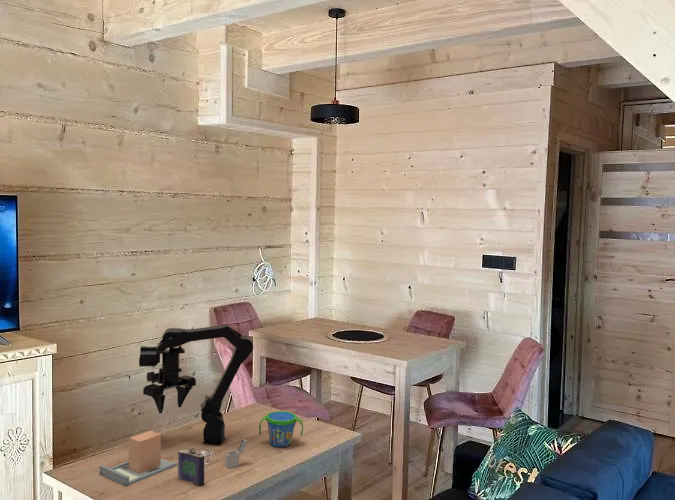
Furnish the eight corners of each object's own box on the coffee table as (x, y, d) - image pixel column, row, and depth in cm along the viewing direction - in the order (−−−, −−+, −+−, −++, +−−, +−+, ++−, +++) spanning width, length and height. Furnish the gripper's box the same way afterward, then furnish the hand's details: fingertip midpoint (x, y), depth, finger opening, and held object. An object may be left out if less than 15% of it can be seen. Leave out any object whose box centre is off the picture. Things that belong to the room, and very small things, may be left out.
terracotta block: (150, 461, 194) (150, 430, 193) (160, 465, 191) (161, 434, 190) (128, 469, 187) (129, 437, 186) (139, 473, 184) (139, 441, 184)
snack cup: (304, 439, 218) (305, 412, 217) (300, 451, 207) (301, 422, 207) (261, 437, 219) (262, 409, 218) (255, 448, 208) (256, 419, 208)
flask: (175, 480, 182) (176, 445, 181) (182, 476, 185) (183, 442, 184) (200, 487, 178) (201, 451, 177) (206, 483, 181) (207, 448, 180)
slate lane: (151, 456, 199) (151, 447, 199) (177, 466, 191) (177, 457, 191) (99, 475, 183) (99, 465, 183) (126, 487, 176) (126, 477, 176)
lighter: (227, 468, 191) (228, 444, 191) (225, 467, 192) (225, 442, 192) (247, 463, 196) (247, 439, 195) (244, 461, 197) (245, 437, 196)
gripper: (176, 357, 220) (175, 399, 221) (132, 367, 205) (132, 412, 206) (197, 362, 214) (196, 405, 215) (154, 372, 198) (153, 419, 199)
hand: (170, 410), depth 209 cm, fingers open, 8 cm apart
